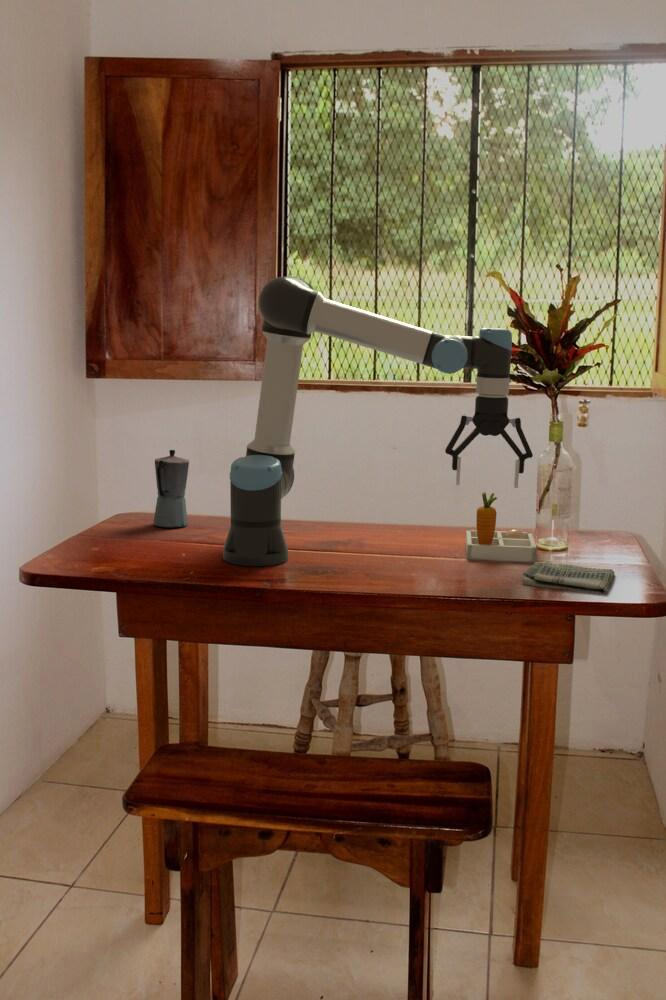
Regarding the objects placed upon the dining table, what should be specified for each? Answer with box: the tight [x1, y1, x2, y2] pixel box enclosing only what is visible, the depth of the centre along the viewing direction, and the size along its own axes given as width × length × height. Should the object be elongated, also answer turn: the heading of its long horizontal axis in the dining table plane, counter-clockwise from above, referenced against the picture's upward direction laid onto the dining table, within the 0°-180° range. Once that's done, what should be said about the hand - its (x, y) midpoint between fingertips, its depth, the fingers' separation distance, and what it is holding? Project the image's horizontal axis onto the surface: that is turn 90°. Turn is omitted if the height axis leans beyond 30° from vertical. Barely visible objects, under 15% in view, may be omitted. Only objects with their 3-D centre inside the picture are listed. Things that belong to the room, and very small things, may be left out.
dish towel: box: [521, 560, 615, 595], centre depth 232 cm, size 19×18×3 cm
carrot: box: [475, 491, 498, 545], centre depth 250 cm, size 5×5×15 cm
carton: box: [465, 529, 537, 563], centre depth 255 cm, size 16×16×4 cm
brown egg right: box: [505, 528, 524, 539], centre depth 258 cm, size 5×5×5 cm
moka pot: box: [153, 449, 190, 528], centre depth 275 cm, size 10×15×20 cm, turn 170°
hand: (486, 485), depth 249 cm, fingers open, 13 cm apart
